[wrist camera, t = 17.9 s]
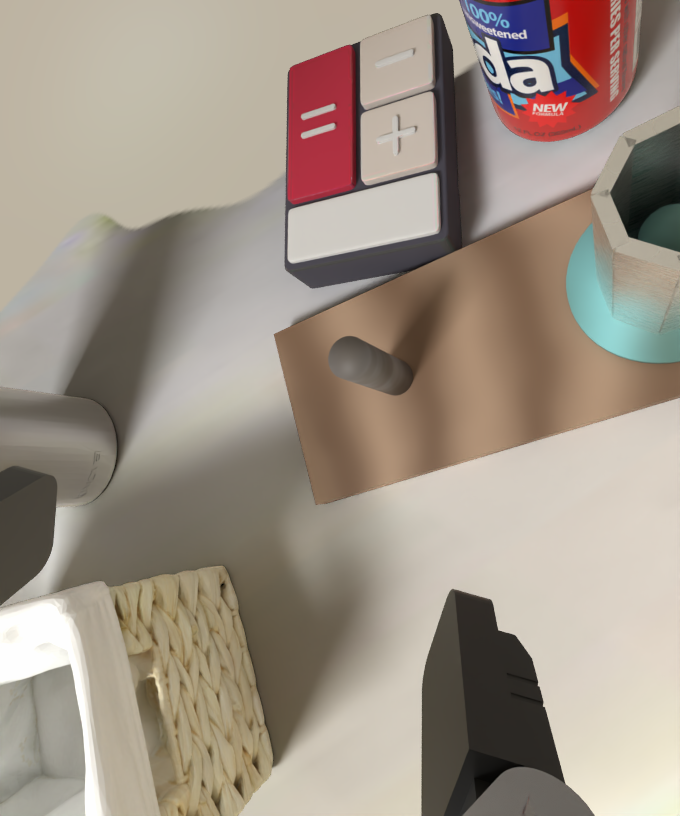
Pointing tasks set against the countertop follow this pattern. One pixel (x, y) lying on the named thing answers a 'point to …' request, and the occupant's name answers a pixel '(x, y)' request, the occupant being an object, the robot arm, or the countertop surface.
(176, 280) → the countertop surface
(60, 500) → the robot arm
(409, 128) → the calculator
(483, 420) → the jig board
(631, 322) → the sleeve
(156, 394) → the countertop surface
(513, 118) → the soda can
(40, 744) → the storage basket
